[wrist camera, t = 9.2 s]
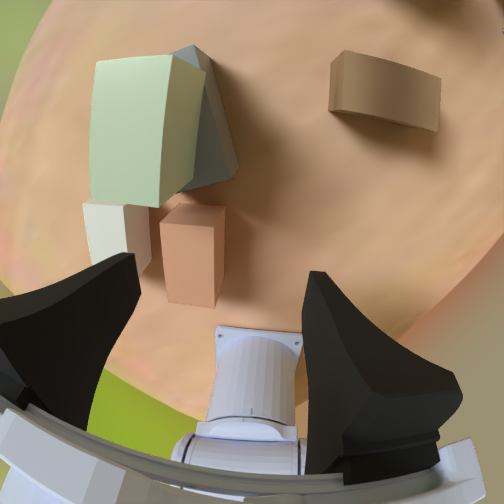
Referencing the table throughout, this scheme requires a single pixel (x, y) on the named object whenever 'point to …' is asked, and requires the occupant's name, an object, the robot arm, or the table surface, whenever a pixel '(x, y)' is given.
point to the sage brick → (143, 128)
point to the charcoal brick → (210, 129)
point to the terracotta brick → (193, 253)
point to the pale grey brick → (117, 231)
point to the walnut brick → (384, 91)
